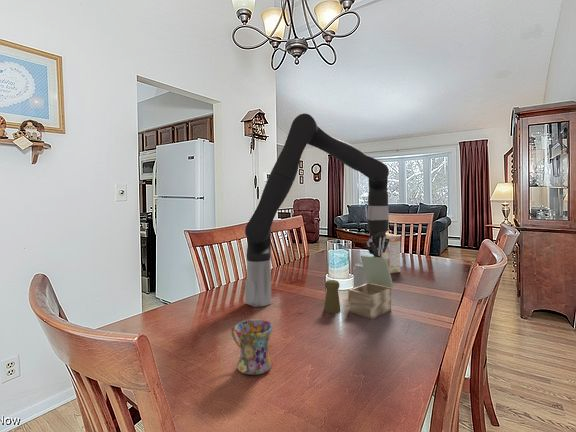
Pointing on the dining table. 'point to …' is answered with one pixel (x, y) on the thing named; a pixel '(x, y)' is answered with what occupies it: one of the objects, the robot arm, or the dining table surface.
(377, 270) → the lid
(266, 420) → the dining table surface
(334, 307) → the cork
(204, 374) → the dining table surface
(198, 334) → the dining table surface
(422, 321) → the dining table surface
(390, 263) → the coffeecake box
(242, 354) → the mug
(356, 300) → the box
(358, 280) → the can
